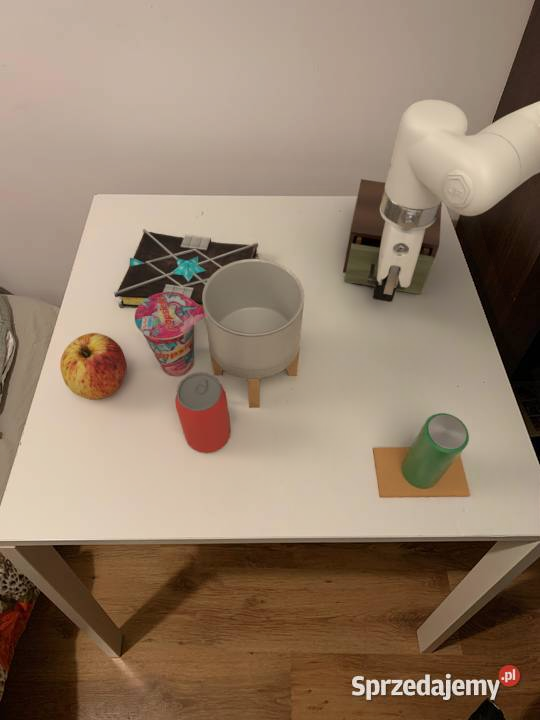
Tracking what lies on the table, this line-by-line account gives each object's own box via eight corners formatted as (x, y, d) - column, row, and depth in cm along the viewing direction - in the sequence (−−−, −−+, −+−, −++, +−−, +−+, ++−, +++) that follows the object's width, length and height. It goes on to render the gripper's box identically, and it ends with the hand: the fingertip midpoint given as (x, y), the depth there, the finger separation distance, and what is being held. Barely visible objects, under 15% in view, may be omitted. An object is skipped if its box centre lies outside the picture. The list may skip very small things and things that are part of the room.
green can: (440, 457, 68) (470, 416, 58) (439, 492, 65) (470, 456, 55) (402, 449, 69) (425, 407, 59) (399, 484, 66) (423, 446, 56)
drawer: (419, 312, 83) (432, 280, 76) (340, 298, 84) (347, 265, 78) (424, 242, 93) (436, 209, 86) (354, 231, 94) (360, 197, 88)
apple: (122, 415, 72) (103, 379, 64) (63, 407, 73) (38, 370, 65) (140, 365, 77) (126, 325, 69) (86, 358, 78) (64, 317, 70)
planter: (210, 407, 73) (197, 334, 58) (217, 338, 80) (206, 257, 66) (297, 408, 73) (306, 335, 58) (295, 339, 80) (302, 259, 66)
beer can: (236, 419, 72) (232, 375, 62) (222, 460, 68) (215, 419, 58) (194, 408, 73) (183, 363, 63) (178, 448, 69) (164, 406, 59)
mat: (456, 448, 70) (458, 446, 69) (469, 496, 66) (470, 495, 65) (372, 449, 69) (373, 447, 69) (379, 497, 65) (380, 496, 65)
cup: (164, 394, 74) (148, 347, 64) (142, 355, 78) (125, 305, 68) (218, 368, 77) (212, 320, 67) (195, 332, 81) (186, 281, 71)
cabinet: (423, 286, 87) (439, 245, 80) (342, 272, 89) (350, 231, 81) (427, 233, 96) (442, 191, 88) (353, 221, 97) (361, 179, 89)
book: (258, 256, 91) (258, 235, 87) (240, 326, 82) (239, 306, 78) (146, 242, 93) (141, 221, 89) (116, 308, 84) (108, 288, 80)
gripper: (437, 245, 60) (402, 336, 75) (440, 173, 68) (408, 268, 83) (376, 236, 61) (353, 328, 76) (386, 166, 69) (364, 261, 84)
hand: (382, 296), depth 80 cm, fingers closed
